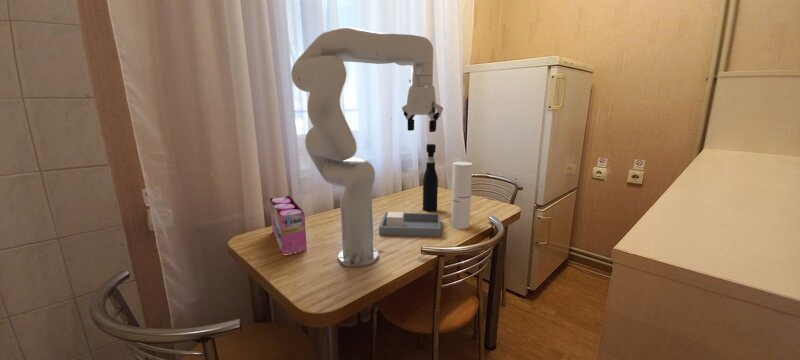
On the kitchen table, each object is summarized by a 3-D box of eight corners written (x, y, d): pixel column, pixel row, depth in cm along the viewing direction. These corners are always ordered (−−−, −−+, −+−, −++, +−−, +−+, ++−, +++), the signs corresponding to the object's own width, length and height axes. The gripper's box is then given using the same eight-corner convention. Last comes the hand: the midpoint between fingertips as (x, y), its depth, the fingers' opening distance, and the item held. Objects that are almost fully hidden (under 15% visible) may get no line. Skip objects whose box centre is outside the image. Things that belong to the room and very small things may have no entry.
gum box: (271, 231, 122) (267, 197, 119) (292, 227, 126) (289, 194, 122) (282, 256, 102) (278, 216, 98) (307, 251, 105) (304, 212, 102)
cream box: (402, 230, 119) (402, 217, 118) (386, 229, 120) (386, 217, 119) (403, 224, 125) (403, 212, 124) (388, 223, 126) (388, 211, 125)
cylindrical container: (469, 229, 122) (472, 165, 116) (450, 228, 124) (452, 164, 118) (469, 223, 129) (472, 162, 123) (451, 221, 130) (453, 161, 124)
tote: (440, 239, 113) (440, 229, 112) (379, 237, 116) (379, 227, 115) (439, 223, 129) (439, 213, 128) (385, 221, 131) (385, 212, 130)
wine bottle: (421, 213, 141) (422, 145, 134) (423, 208, 147) (424, 143, 140) (436, 214, 139) (437, 145, 132) (437, 209, 145) (439, 143, 138)
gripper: (396, 82, 115) (396, 130, 119) (436, 80, 104) (435, 133, 108) (409, 83, 120) (409, 129, 124) (448, 81, 109) (447, 131, 113)
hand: (421, 131), depth 116 cm, fingers open, 9 cm apart
